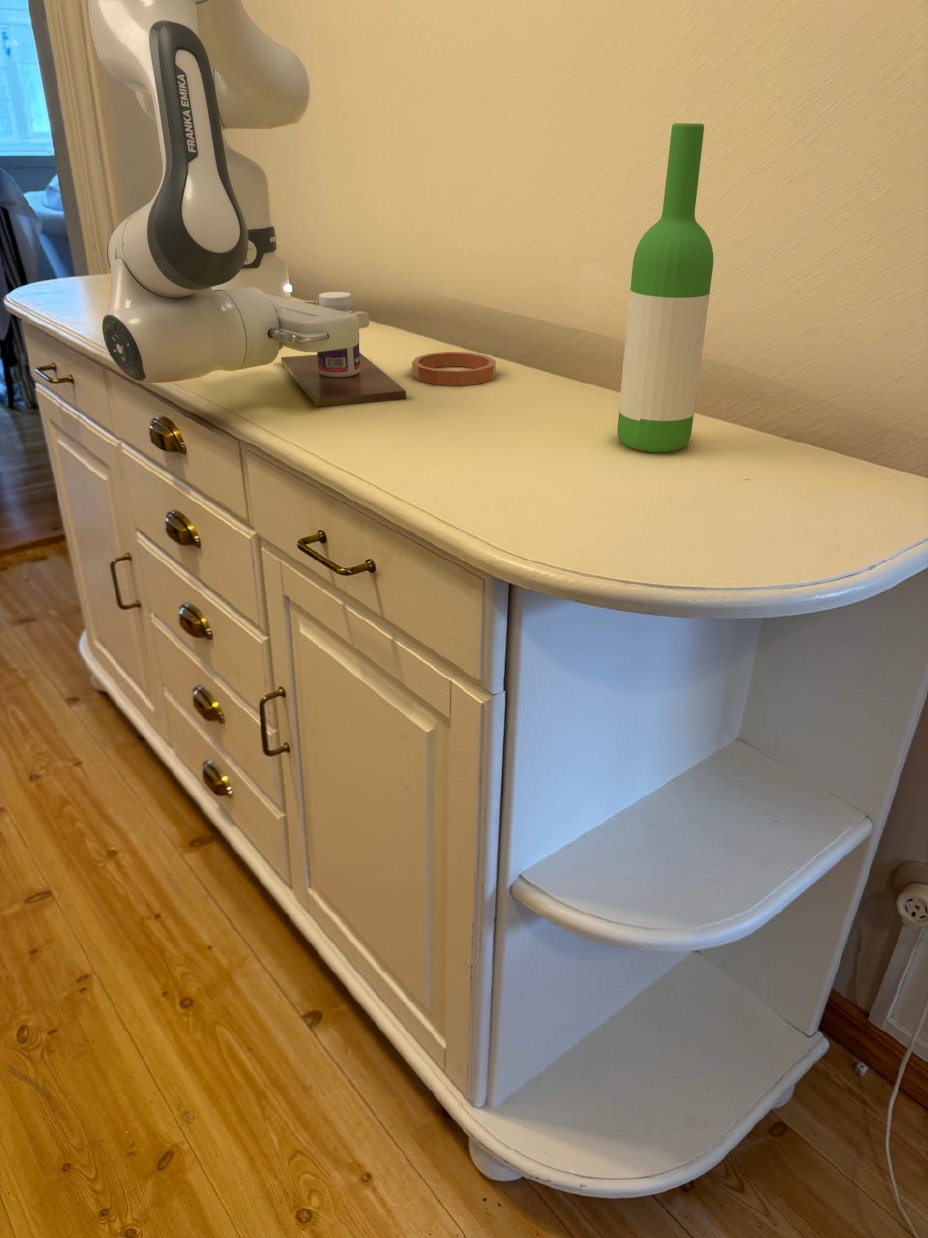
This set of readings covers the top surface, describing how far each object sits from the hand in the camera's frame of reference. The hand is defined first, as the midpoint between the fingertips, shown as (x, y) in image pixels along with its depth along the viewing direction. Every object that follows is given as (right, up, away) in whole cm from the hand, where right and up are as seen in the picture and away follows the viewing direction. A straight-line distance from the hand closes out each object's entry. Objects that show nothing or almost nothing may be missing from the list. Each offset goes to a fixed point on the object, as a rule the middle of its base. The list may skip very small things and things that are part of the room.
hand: (341, 312), depth 116 cm
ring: (+14, -6, +7) cm, 17 cm away
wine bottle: (+35, -20, -18) cm, 45 cm away
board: (-1, -8, +4) cm, 8 cm away
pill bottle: (-1, -7, +3) cm, 8 cm away
